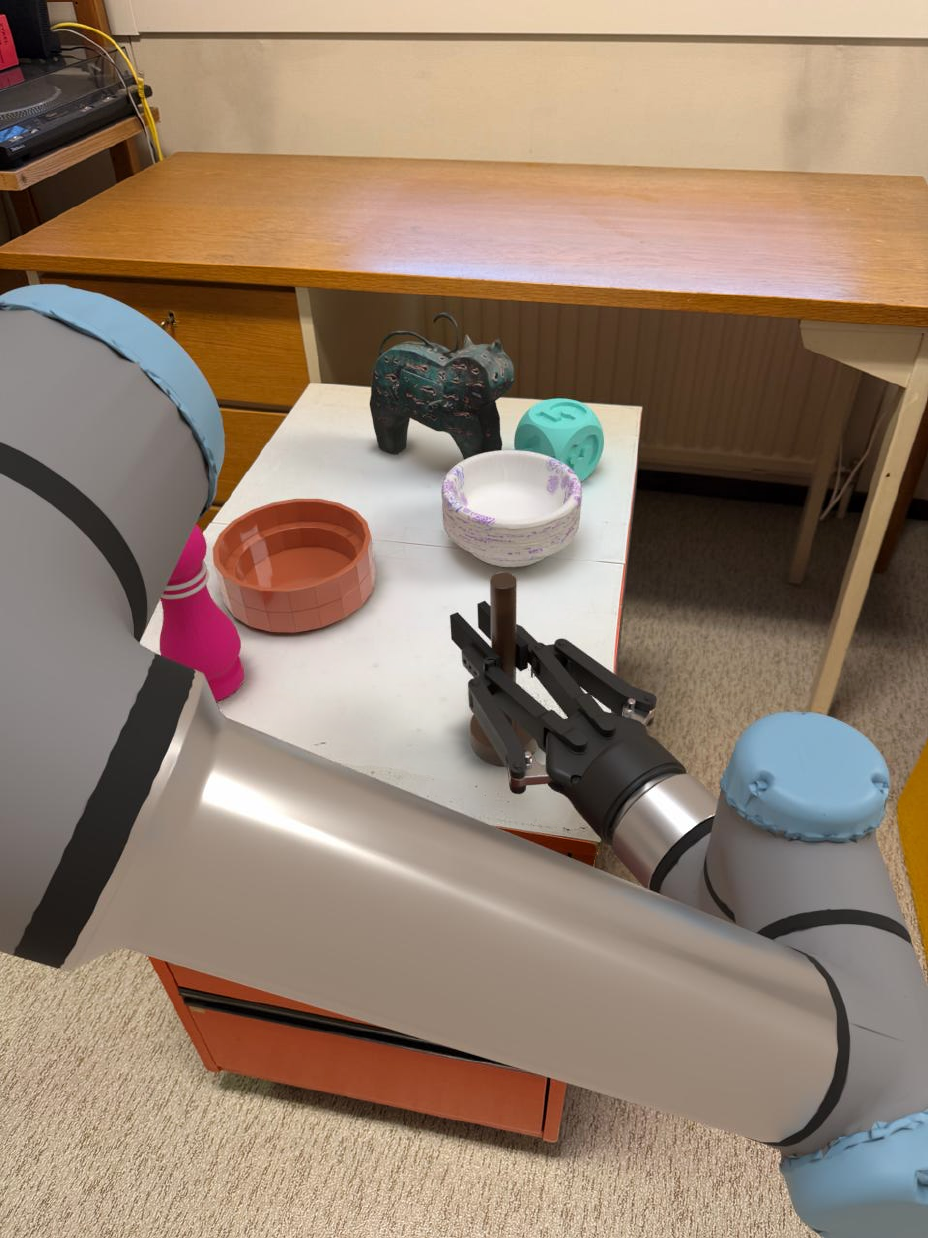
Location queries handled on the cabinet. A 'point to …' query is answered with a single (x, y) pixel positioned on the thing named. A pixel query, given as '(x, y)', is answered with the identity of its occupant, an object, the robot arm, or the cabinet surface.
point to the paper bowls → (511, 506)
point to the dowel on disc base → (501, 660)
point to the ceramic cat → (440, 392)
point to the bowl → (295, 564)
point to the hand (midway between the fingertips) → (468, 620)
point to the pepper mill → (199, 623)
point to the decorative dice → (562, 434)
